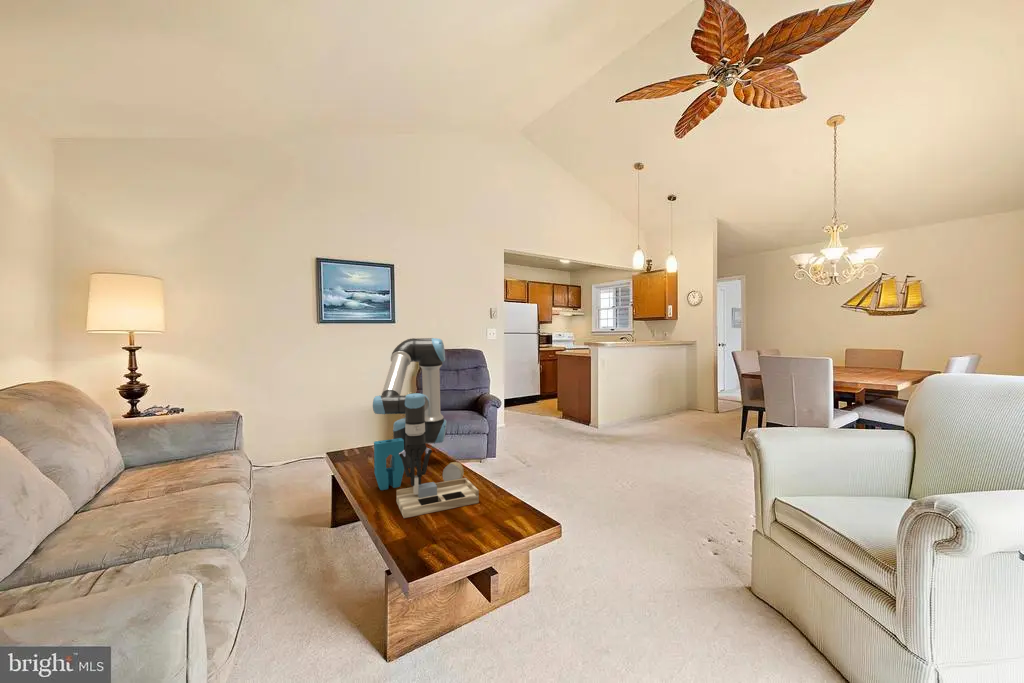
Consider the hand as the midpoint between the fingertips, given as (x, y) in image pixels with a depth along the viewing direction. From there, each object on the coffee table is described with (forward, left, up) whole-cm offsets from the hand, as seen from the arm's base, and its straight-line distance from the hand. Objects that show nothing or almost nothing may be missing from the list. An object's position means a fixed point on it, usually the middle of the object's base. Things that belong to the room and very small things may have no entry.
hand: (415, 493), depth 155 cm
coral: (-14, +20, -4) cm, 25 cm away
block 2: (-22, -7, -4) cm, 24 cm away
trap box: (+3, +8, -4) cm, 9 cm away
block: (0, +4, -1) cm, 4 cm away
